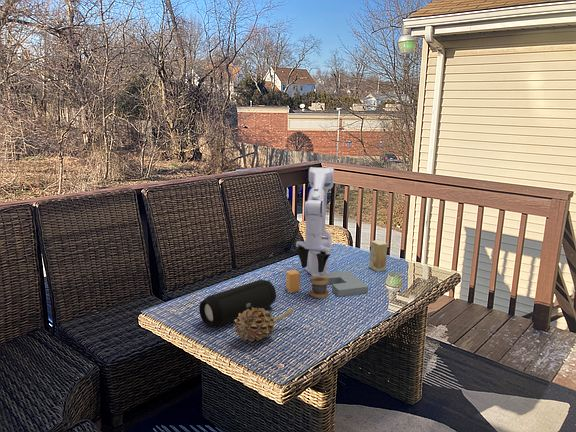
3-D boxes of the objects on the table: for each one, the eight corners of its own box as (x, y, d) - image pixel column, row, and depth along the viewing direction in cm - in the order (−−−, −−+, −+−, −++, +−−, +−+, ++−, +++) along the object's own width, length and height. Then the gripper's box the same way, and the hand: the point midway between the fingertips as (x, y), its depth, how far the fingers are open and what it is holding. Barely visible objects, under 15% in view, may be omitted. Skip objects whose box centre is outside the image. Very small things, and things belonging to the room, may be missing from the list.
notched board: (320, 279, 184) (320, 273, 184) (347, 276, 188) (347, 270, 187) (338, 296, 167) (338, 290, 167) (367, 292, 171) (368, 286, 170)
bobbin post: (307, 291, 172) (307, 276, 170) (324, 289, 174) (324, 274, 172) (313, 299, 165) (314, 283, 164) (331, 296, 167) (332, 281, 166)
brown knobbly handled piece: (247, 354, 128) (247, 321, 126) (227, 341, 135) (226, 310, 133) (302, 328, 143) (302, 299, 141) (281, 318, 150) (281, 290, 148)
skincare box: (368, 267, 198) (370, 240, 195) (377, 266, 200) (378, 239, 197) (377, 272, 192) (379, 244, 190) (386, 270, 194) (387, 243, 191)
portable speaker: (215, 334, 140) (214, 303, 137) (198, 322, 147) (196, 293, 144) (277, 309, 157) (278, 282, 154) (259, 300, 164) (259, 274, 161)
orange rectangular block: (286, 288, 175) (286, 271, 173) (296, 287, 176) (296, 270, 174) (289, 292, 171) (289, 274, 169) (299, 291, 172) (299, 273, 171)
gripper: (290, 231, 165) (290, 267, 168) (323, 238, 156) (321, 276, 158) (303, 228, 170) (302, 263, 173) (335, 235, 161) (333, 271, 164)
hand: (312, 269), depth 166 cm, fingers open, 7 cm apart
